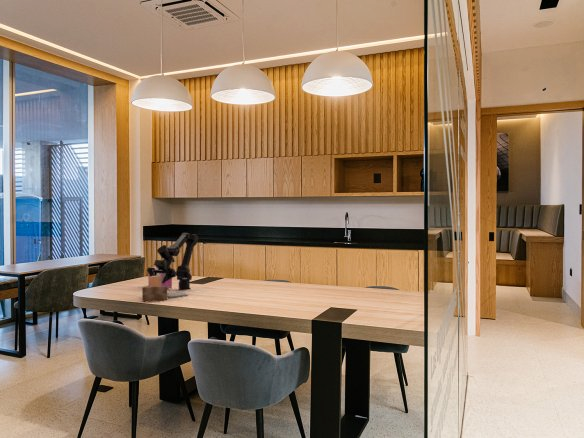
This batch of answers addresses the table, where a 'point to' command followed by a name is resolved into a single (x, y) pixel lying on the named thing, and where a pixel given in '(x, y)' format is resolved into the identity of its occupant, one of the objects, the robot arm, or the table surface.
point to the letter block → (154, 281)
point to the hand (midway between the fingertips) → (156, 282)
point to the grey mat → (176, 294)
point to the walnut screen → (154, 293)
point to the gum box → (167, 283)
